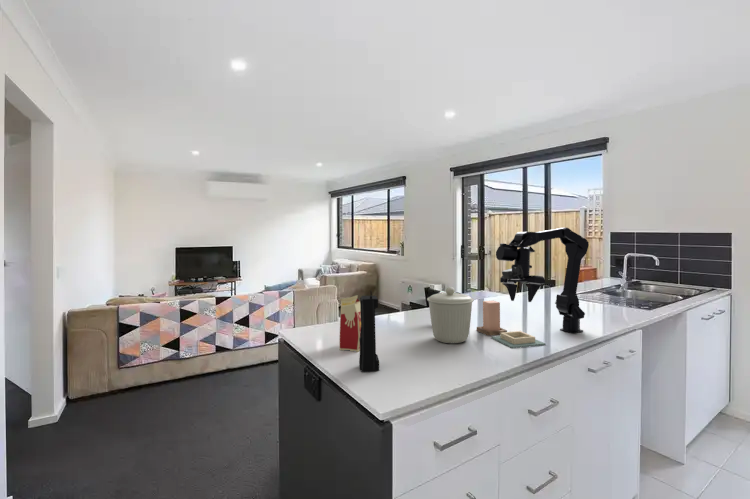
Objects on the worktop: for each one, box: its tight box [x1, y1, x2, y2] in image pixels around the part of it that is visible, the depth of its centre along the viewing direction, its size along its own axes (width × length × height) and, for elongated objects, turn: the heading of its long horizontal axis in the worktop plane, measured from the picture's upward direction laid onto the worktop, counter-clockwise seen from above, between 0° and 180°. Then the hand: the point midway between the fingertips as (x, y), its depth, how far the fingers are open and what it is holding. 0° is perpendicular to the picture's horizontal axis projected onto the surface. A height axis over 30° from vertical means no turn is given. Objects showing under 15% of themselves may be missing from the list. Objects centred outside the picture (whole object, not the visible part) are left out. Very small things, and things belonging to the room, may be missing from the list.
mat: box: [490, 330, 546, 349], centre depth 140 cm, size 14×14×3 cm
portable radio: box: [358, 291, 380, 373], centre depth 115 cm, size 8×6×25 cm
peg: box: [482, 300, 501, 331], centre depth 153 cm, size 5×5×13 cm
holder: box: [476, 325, 508, 337], centre depth 154 cm, size 9×9×2 cm
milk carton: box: [339, 294, 361, 353], centre depth 136 cm, size 9×9×20 cm
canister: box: [426, 286, 475, 344], centre depth 143 cm, size 18×18×21 cm
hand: (520, 301), depth 144 cm, fingers open, 9 cm apart
